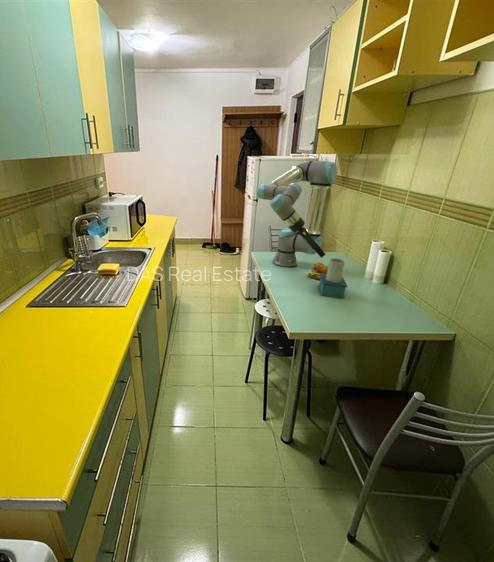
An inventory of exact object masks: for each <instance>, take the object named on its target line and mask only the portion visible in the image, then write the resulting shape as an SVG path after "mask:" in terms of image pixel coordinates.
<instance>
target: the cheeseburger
mask: <svg viewBox="0 0 494 562" xmlns="http://www.w3.org/2000/svg"><path fill="white" fill-rule="evenodd" d="M327 270H328V266H325V265H324V263H322V262H320V261H317V262H315V263H314V264H313V267H311V268H309V270H308V272H307V276H309V277H311V278H312V279H315V280H320V278H321V277H320V274H322V275H327Z"/></svg>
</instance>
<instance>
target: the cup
mask: <svg viewBox="0 0 494 562" xmlns="http://www.w3.org/2000/svg"><path fill="white" fill-rule="evenodd" d="M345 264H346V260H344V259H341V258H339V257H338V258H336V257H332V258H330V259H329V261H328V265H327V267H328V270H327V274H326V280H327V281H329V282H333V283H339V282H341V278H342V277H343V273H344V270H345V266H346V265H345Z"/></svg>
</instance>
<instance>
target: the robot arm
mask: <svg viewBox="0 0 494 562" xmlns="http://www.w3.org/2000/svg"><path fill="white" fill-rule="evenodd" d="M337 177H338V167H337V164H336V163H335V162H333V161H328V160H327V161H325V160H305V161H302V162H299V163H296V164H295V165H293V166H291V167H290V168H289V169H288V171H287V172H285V173H282V175H280V176H278V177H277V178H275V179H274V180H273V181H271V182H269V183H268V184H266V183H263V184H259V185H258V186H257V189H256V196H257V197H258V199H260V200H266V201H270V202H269V206H270V208H271V209H272V211H274V212H275V213H276V215H277V216H278V217H279V218H280V220H281V221H282V224H285V225H286V226H287V227H288V228H284V229H281V230H280V231H279V234H278V241H277V249H276V253H275V254H274V257H273V261H272V263H273V265H276V266H279V267H284V268H293V267H296V266H297V263H298V262H297V261H298V260H297V257H296V252H300V253H304V254H307V255H308V254H309V255H316V254H317V255H318V256H319V257H320V258H324V257H325V256H326V255H327V254H326V253H325V252H324V250H323V248H322V244H323V241H324V238H323V237H322V236H321V234H322V233H321V231H320V225H321V221H322V216H323V211H324V207H325V202H326V198H327V192H328V190H329V189H330V188H331V187H332V185H333V184H335V182H336V180H337ZM300 182H308V183H309V186H310V188H311V190H310V195H309V201H308V207H307V212H306V216H305V220H304V219H303V218H302V217H301V215H300V214H299V213H298V211H296V210H295V208H294V207H293V206H294V204H295V203H296V202H297V200H298V199H299V198H300V196H301V194H302V192H303V190H302V186H301V185H300V184H298V183H300Z"/></svg>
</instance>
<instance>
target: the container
mask: <svg viewBox="0 0 494 562" xmlns="http://www.w3.org/2000/svg"><path fill="white" fill-rule="evenodd" d="M326 275H327V274H326ZM326 275H322V274H320V277H321V278H320V279H319V284H318V288H319V291H320V295H321V296H325V297H326V296H327V297H334V298H345V293H346V290H347V289H346V288H348V285H347V282H346V280H345V278H344V276H342V278H341V282H339V283H333V282H329V281H327V280H326Z"/></svg>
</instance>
